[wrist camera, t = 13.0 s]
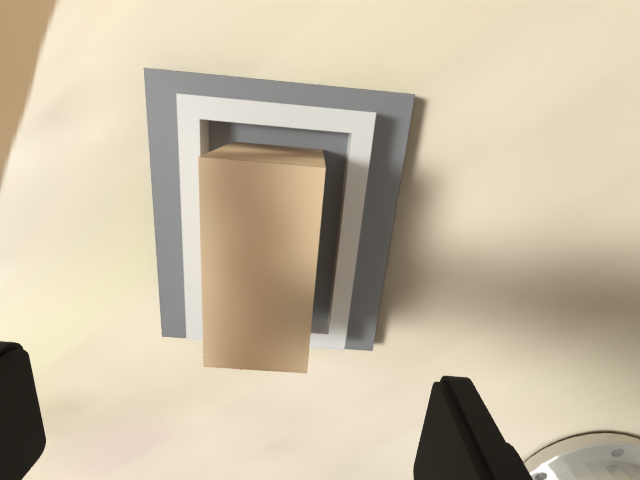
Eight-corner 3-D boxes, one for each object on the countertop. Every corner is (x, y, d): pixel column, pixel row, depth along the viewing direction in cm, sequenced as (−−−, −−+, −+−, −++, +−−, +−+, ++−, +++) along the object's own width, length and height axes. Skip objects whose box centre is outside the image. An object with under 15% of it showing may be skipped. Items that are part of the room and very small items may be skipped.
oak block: (322, 149, 19) (325, 167, 13) (309, 303, 22) (306, 373, 16) (233, 141, 18) (198, 157, 13) (232, 298, 22) (203, 366, 16)
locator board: (370, 341, 24) (376, 366, 22) (168, 327, 23) (151, 351, 21) (410, 95, 19) (423, 93, 16) (152, 69, 18) (128, 64, 16)
